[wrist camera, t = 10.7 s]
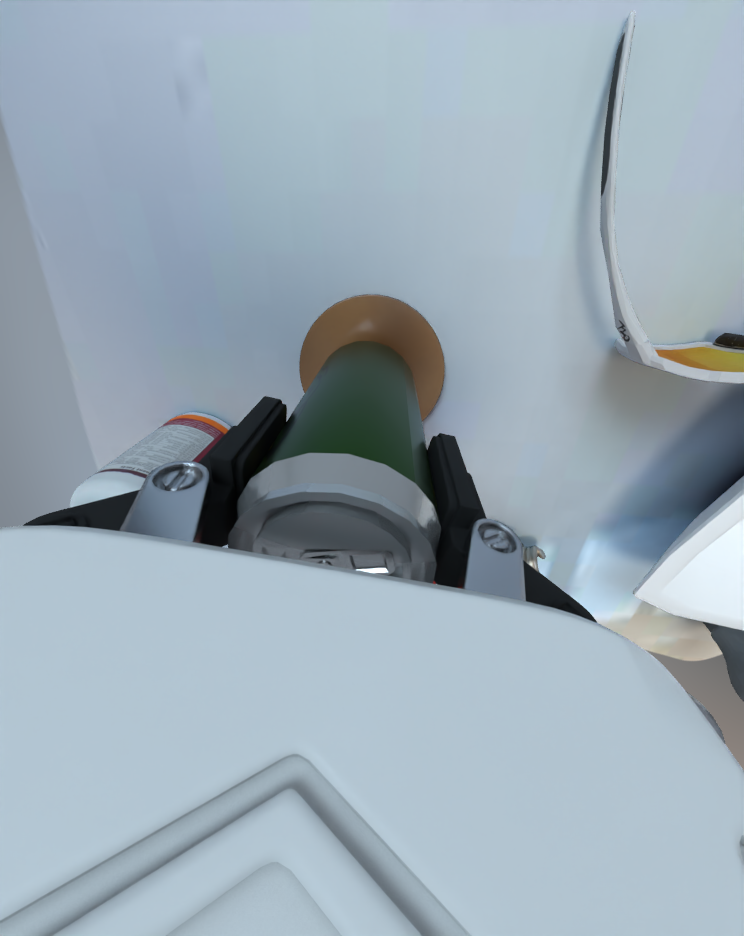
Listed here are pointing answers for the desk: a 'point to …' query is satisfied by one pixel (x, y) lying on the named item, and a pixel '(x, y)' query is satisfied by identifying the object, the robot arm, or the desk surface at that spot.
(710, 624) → the light bulb
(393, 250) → the desk surface
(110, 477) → the pill bottle
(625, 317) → the sunglasses
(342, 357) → the beer can
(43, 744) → the robot arm
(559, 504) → the desk surface
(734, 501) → the bowl
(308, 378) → the coaster
